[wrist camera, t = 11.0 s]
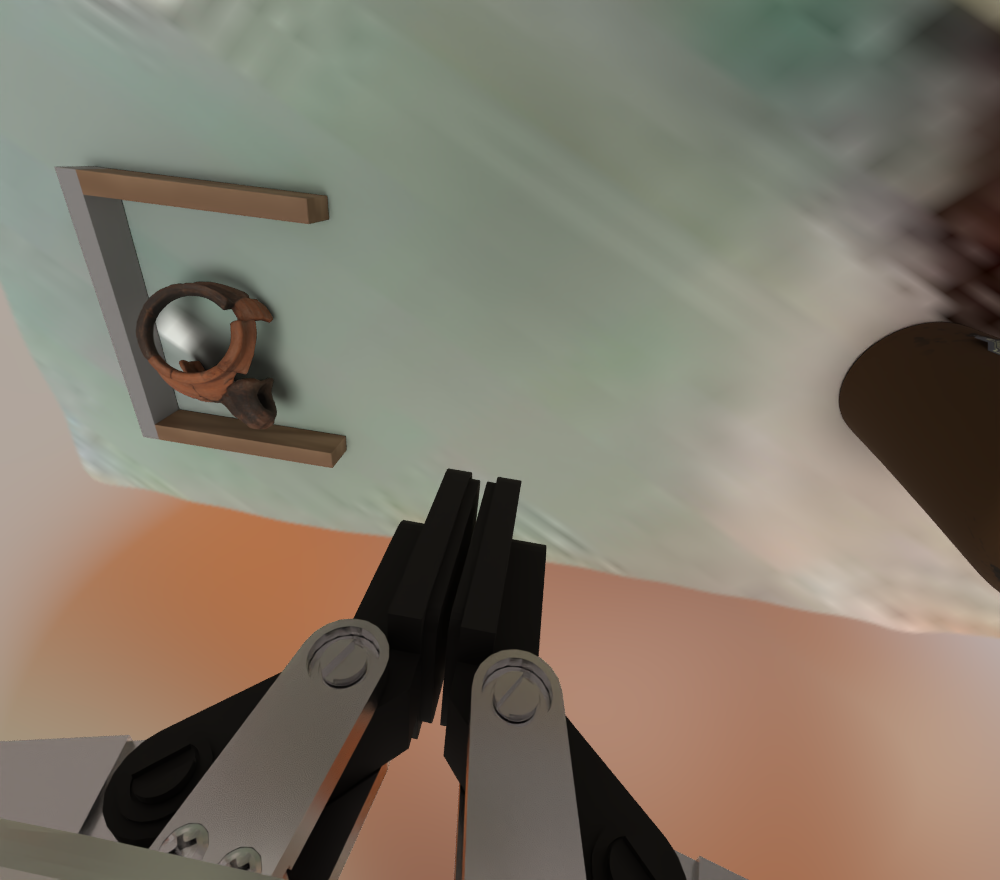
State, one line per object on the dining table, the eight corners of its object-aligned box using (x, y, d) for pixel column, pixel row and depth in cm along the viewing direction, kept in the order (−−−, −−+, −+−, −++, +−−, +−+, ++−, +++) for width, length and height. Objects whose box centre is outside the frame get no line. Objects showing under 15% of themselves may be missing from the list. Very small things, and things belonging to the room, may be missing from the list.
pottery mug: (166, 343, 42) (92, 323, 33) (253, 277, 42) (200, 241, 34) (256, 452, 42) (204, 458, 34) (341, 386, 43) (309, 376, 34)
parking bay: (93, 166, 34) (54, 166, 32) (327, 195, 33) (306, 198, 31) (167, 421, 45) (143, 436, 43) (346, 450, 44) (332, 467, 41)
